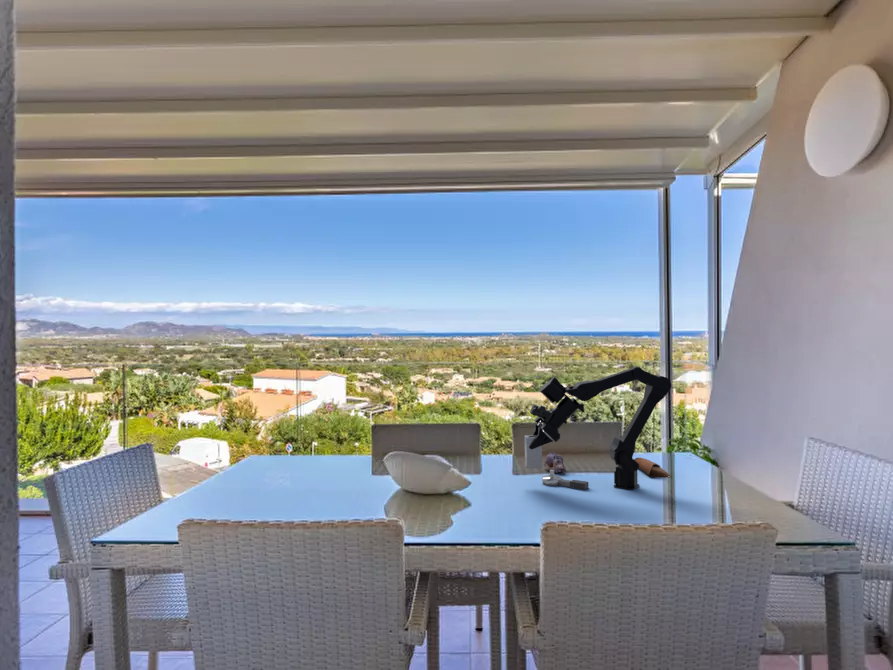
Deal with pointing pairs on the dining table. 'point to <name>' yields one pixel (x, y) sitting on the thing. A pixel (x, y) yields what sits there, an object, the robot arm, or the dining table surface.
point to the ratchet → (563, 482)
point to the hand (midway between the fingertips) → (529, 446)
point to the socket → (532, 454)
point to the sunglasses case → (651, 468)
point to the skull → (554, 462)
